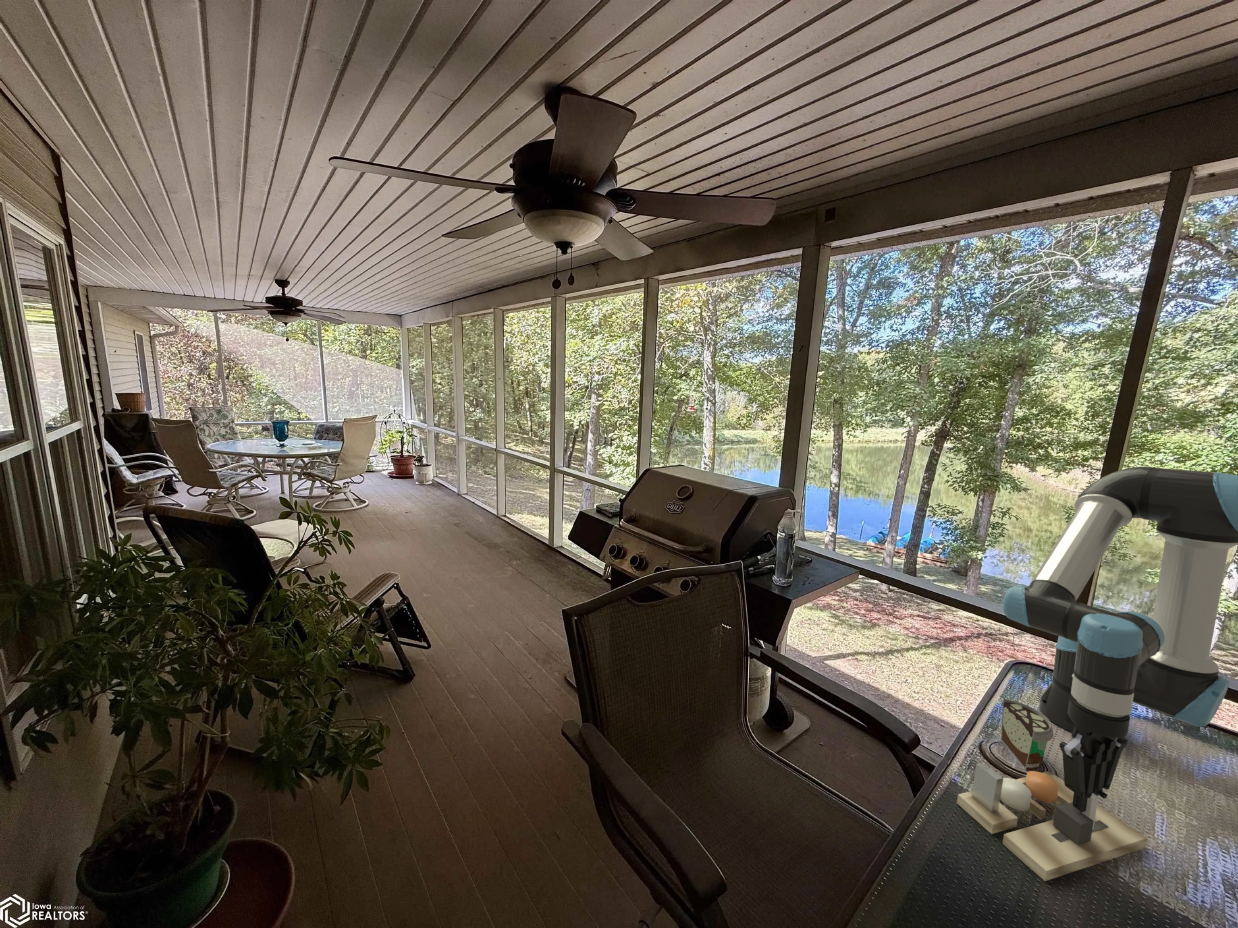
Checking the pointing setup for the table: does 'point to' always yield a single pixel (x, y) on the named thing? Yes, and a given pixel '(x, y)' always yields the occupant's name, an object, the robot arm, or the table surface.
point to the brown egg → (1042, 786)
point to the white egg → (1015, 794)
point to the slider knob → (1073, 823)
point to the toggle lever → (987, 787)
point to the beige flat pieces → (1056, 836)
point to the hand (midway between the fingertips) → (1081, 823)
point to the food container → (1025, 733)
